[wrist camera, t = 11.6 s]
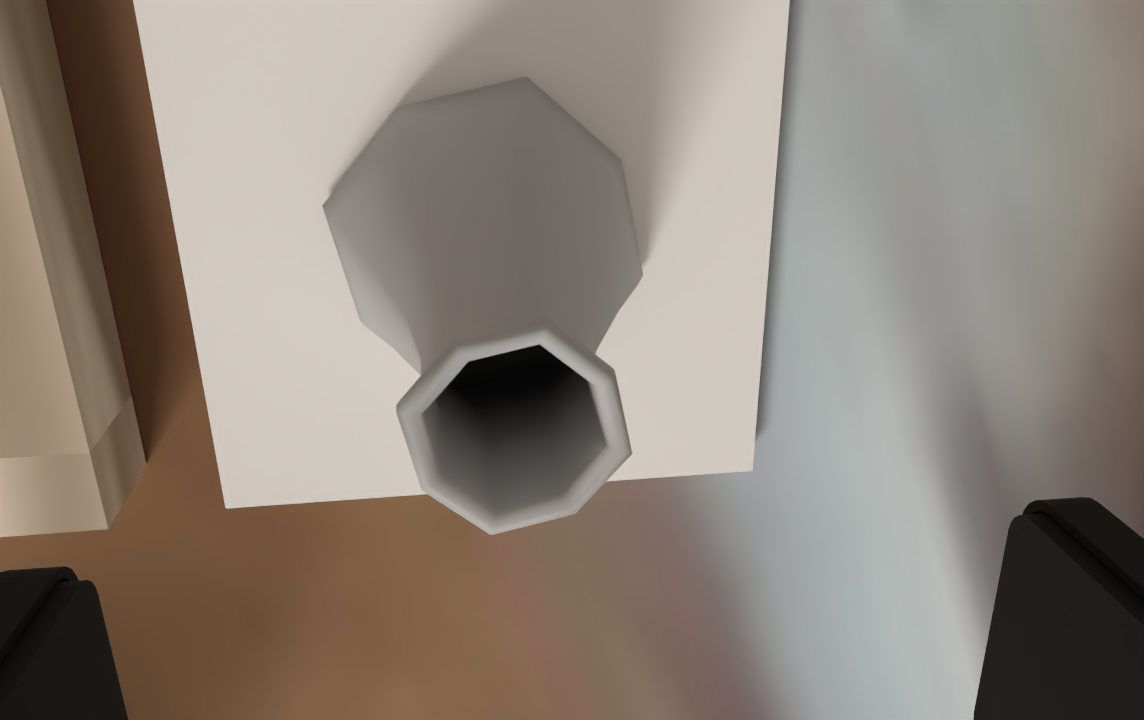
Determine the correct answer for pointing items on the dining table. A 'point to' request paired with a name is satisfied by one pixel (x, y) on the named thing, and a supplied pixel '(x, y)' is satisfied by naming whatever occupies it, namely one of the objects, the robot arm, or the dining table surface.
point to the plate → (346, 129)
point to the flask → (495, 295)
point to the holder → (54, 309)
